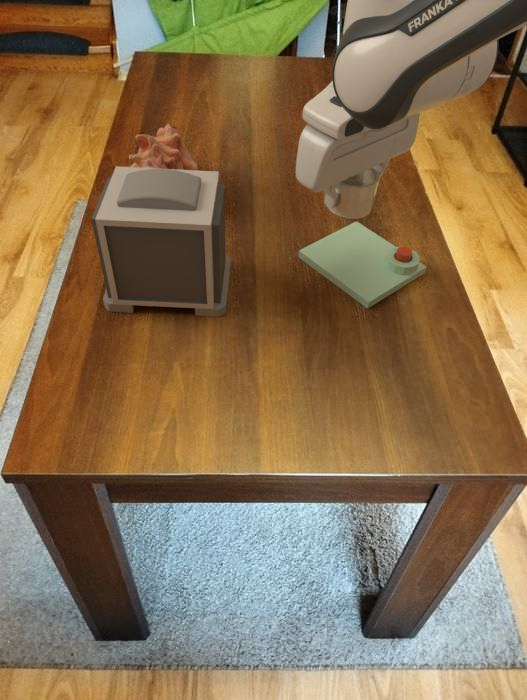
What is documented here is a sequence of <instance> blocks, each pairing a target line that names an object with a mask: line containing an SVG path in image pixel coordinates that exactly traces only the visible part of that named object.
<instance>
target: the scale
mask: <svg viewBox="0 0 527 700" xmlns="http://www.w3.org/2000/svg"><path fill="white" fill-rule="evenodd" d="M399 247H400V246H396V245H394V244H392V243H391V242H390V241H388V240H386V239H385V238H383V237H382V236H380V235H379V234H378V233H376V232H374V231H372V230H371V229H369V228H367V227H366V226H365V225H363V224H362V223H360V222H358V221H354V222H352V223H349V224H348V225H345V226H344V227H342V228H340V229H337V230H336V231H335V232H332V233H330V234H328V235H327V236H324V237H323V238H320V239H318V240H317V241H315V242H313V243H311V244H309V245H307V246H305V247H303V248H300V249H299V250H298V255H297V256H298V257H297V258H299V259H300V260H301V261H302V262H304V263H305V264H307V265H308V266H309V267H311V268H312V270H313V269H314V270H315V271H316V272H317V273H319V274H320V275H321V276H323V277H324V278H326V279H327V280H328V281H329V282H331V283H332V284H333V285H335V286H336V287H337V288H338V289H340V290H342V291H343V292H344V293H346V294H347V295H348V296H350V297H351V298H352V299H354V300H355V301H356V302H358V303H359V304H361V306H363V307H365V308H366V309H370V308H372V306H374V305H376V304H377V303H379V302H381V301H382V300H384V299H386V298H387V297H389V296H390V295H392V294H394V293H395V292H397V291H398V290H400V289H402V288H404V287H405V286H408V284H410V283H411V282H413V281H414V280H416V279H418V278H419V277H422V276H423V275H425V274H426V271H427V268H428V266H426V265H425V264H423V263H422V262H420V260H421V257H420V256H419V254H418V252H416V251H415V250H413V249H411V250H412V255H411V259H410V261H409V262H408V263H403V262H399V261H397V260H396V258H395V257H396V253H397V249H398V248H399Z"/></svg>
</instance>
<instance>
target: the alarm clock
mask: <svg viewBox="0 0 527 700" xmlns="http://www.w3.org/2000/svg"><path fill="white" fill-rule="evenodd" d="M225 186H226V185H225V183H224V182H222V181H220V171H215V170H198V171H197V170H177V169H158V168H138V167H130V166H118V165H117V166H116V165H115V168H114V170H113V172H112V175H111V176H109V177H108V178H107V179H106V181H105V184H104V186H103V189H102V191H101V193H100V196H99V199H98V202H97V204H96V206H95V210H94V211H93V213H92V216H91V223H92V228H93V233H94V237H95V243H96V247H97V252H98V256H99V260H100V264H101V271H102V274H103V279H104V284H105V291H104V294H103V296H102V301H103V305H104V308H105V310H106V311H108V312H110V313H129V314H131V313H132V314H133V313H134V311H135V308H136V306H140V307H141V306H142V307H164V308H183V309H184V308H185V309H194V316H196V317H214V318H220V317H223V316H224V315H225V314H226V313H227V305H228V297H229V296H228V294H229V287H230V278H231V276H230V275H231V267H232V258H231V257H230V255H228V254H226V196H225V195H226V187H225Z"/></svg>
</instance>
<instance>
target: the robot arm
mask: <svg viewBox="0 0 527 700" xmlns="http://www.w3.org/2000/svg"><path fill="white" fill-rule="evenodd" d="M343 22H344V23H343V27H342V28H343V29H342V37H341V39H340V41H339V44H338V47H337V48H336V52H335V55H334V59H333V62H332V63H333V64H332V72H331V73H332V74H331V76H332V77H331V79H332V80H331V81H330V82H329V84H328V85H327V86H326V87H325V88H324V89H322V91H320V92H319V93H318V94H316V95H315V96H314V97H312V98H311V99H309V100H308V101H307V102H306V103H305V104H304V105H303V109H302V120H303V121H304V122H305V123H307V124H306V125H305V126H304V128H303V129H302V131H301V133H300V137H299V141H298V147H297V152H296V159H295V178H296V181H298V183H299V184H300V185H302V186H303V187H304V188H306V189H308V190H309V191H310V192H312V193H316V194H317V193H320V192H322V191H323V193H324V197H323V204H324V205H325V206H326V207H327V206H328V207H329V208H331V209H332V208H334V207H336V206H338V205H340V200H341V196H342V195H340V194H339V193H336V190H335V188H338V187H339V182H342V181H344V180H346V179H348V178H350V177H352V176H355V175H357V174H359V173H361V172H363V171H365V170H368V169H370V168H373V169H375V170H376V172H377V173H378V174H379V182H378V186H379V184H380V181H381V177H382V176H383V174H384V173H385V171H386V169H387V168H388V166H389V164H390V160H391V159H393V158H395V157H397V156H400V155H402V154H404V153H407V152H408V151H410V150H411V149H412V147H413V146H414V143H415V141H416V138H417V135H418V134H417V133H418V127H419V122H420V114H421V113H422V112H425V111H429V110H432V109H434V108H437V107H439V106H442V105H446V104H448V103H451V102H454V101H457V100H460V99H462V98H464V97H467V96H468V95H470V94H473V93H475V92H477V91H479V90H480V89H481V88H482V87H484V85H486V82H487V81H488V80H489V79H490V77H491V75H492V73H493V71H494V69H495V65H496V63H497V60H498V55H499V40H500V39H501V38H504V37H505V36H507V35H509V34H511V33H514V32H515V31H518V30H521V29H523V28H526V27H527V0H347V3H346V9H345V15H344V21H343ZM328 207H327V208H328Z"/></svg>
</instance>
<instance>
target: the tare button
mask: <svg viewBox="0 0 527 700" xmlns="http://www.w3.org/2000/svg"><path fill="white" fill-rule="evenodd" d="M398 247H399V248H398V249H397V253H396V257H395V258H396V260H397V261H399V262H403V263H408V262H409V261H410V259H411V255H412V250H413V249H411V248H409V247H407V246H398Z"/></svg>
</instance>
